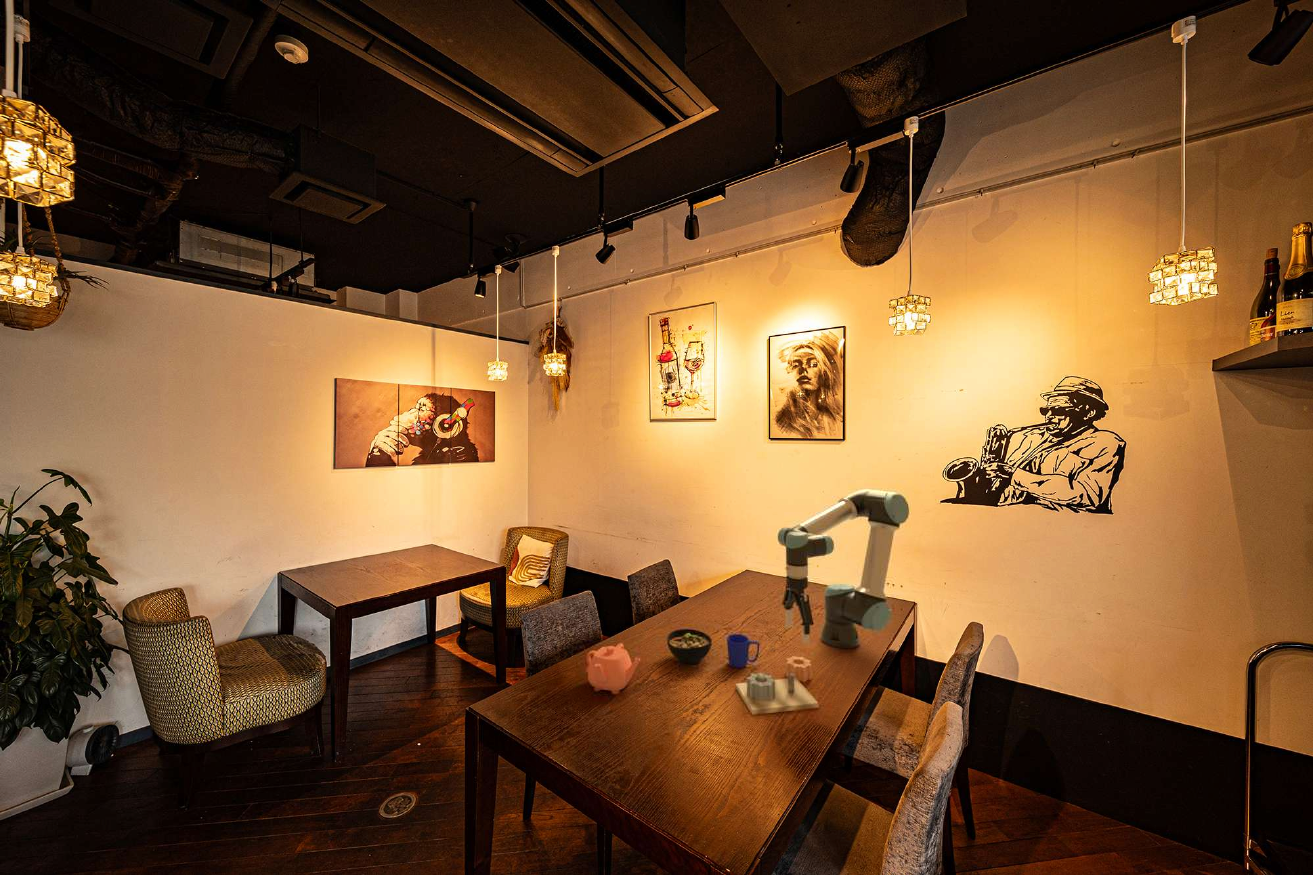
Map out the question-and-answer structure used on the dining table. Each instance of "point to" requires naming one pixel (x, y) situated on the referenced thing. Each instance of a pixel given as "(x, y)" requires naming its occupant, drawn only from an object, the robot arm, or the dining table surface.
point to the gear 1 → (761, 687)
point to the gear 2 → (799, 668)
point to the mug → (739, 650)
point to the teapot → (610, 668)
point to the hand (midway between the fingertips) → (797, 634)
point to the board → (780, 697)
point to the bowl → (689, 646)
